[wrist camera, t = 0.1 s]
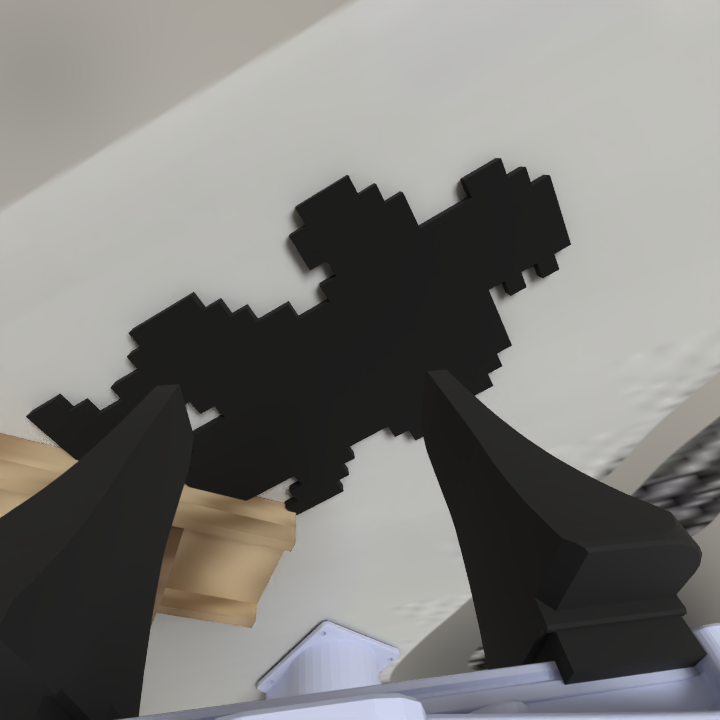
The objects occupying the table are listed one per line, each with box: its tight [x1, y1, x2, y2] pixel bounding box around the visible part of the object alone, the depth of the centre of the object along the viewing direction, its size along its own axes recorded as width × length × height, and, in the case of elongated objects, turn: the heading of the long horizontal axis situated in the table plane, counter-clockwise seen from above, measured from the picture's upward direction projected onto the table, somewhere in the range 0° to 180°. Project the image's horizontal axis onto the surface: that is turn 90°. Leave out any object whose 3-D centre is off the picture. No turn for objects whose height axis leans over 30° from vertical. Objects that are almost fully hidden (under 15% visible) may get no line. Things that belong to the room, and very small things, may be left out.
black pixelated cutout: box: [26, 158, 571, 515], centre depth 24 cm, size 16×1×30 cm
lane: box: [0, 433, 296, 628], centre depth 26 cm, size 22×13×4 cm, turn 66°
